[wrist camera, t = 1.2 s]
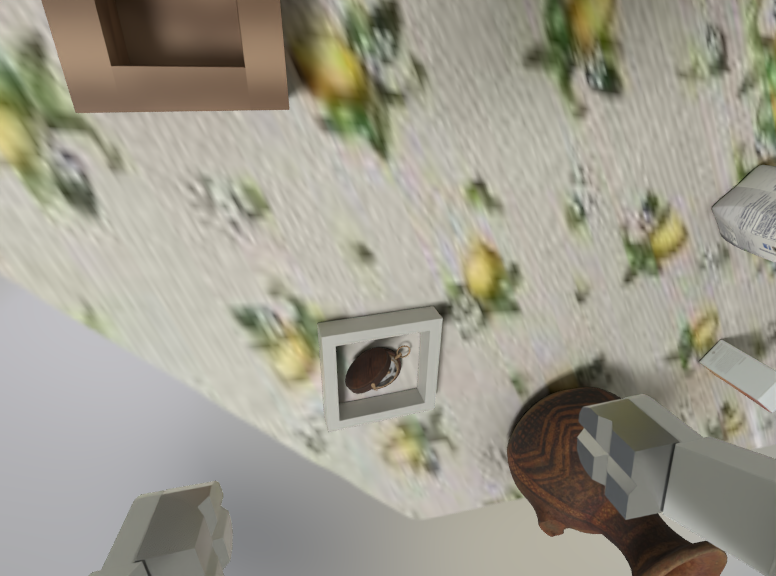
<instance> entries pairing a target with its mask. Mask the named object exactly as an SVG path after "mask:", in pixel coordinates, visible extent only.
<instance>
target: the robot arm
mask: <svg viewBox="0 0 776 576" xmlns="http://www.w3.org/2000/svg"><path fill="white" fill-rule="evenodd" d="M579 423H580V424H581V425H582V426H583V427H584V429H583V430H582V432H581V433H580V434H579V436H578V437H577V451H578V455H579V459H580V462H581V464H582V465H583V467H584V469H585V471H586V472H587V473H588V475H589V476H590V477H591V479H593V480H595V481H597V482H599V483H601V484H603V485H605V496H606V497H607V498H608V499H609V501H610V502H611V503H612V504H613V505H614V507H615V508H616V509H617V510H618V511H619V513H620V514H621V515H622V516H623V518H624V519H625V520H627V519H632V518H637V517H642V516H647V515H651V514H656V513H661V512H663V515H665V516H666V517H668V518H670V519H671V520H673V521H675V522H676V523H678V524H680V525H681V526H683V527H685V528H686V529H688V530H690V531H691V532H693V533H695V534H696V535H698V536H700V537H701V538H703V539H705V540H706V541H708V542H710V543H711V544H713V545H715V546H716V547H718V548H720V549H721V550H723V551H725V552H726V553H728V554H730V555H732V556H733V557H735V558H737V559H738V560H740V561H742V562H743V563H745V564H746V565H748V566H750V567H751V568H753V569H755V570H756V571H759V572H760V573H762V574H763V575H765V576H776V459H774V458H771V457H768V456H766V455H763V454H760V453H757V452H754V451H751V450H748V449H745V448H742V447H739V446H736V445H734V444H731V443H728V442H725V441H722V440H719V439H716V438H713V437H705V438H703V437H702V436H701V435H700V434H698V433H697V432H696V431H694V430H693V429H692V428H691V427H689V426H688V425H687V424H685V423H684V422H683V421H681V420H680V419H679V418H678V417H676V416H675V415H674V414H672V413H671V412H670V411H668V410H667V409H666V408H665V407H663V406H662V405H661V404H659V403H658V402H657V401H656V400H654V399H653V398H652V397H650V396H648V395H645V394H639V395H635V396H630V397H626V398H622V399H618V400H614V401H609V402H604V403H599V404H594V405H590V406H585V407H582V409H581V411H580V413H579ZM222 499H223V492H222V489H221V487H220V484H219V482H217V481H213V482H207V483H201V484H195V485H189V486H184V487H178V488H173V489H167V490H165V491H159V492H153V493H147V494H141V495H140V496H138V497H137V498H136V499H135V500H134V502H133V504H132V506H131V508H130V510H129V512H128V514H127V517H126V519H125V521H124V523H123V525H122V527H121V529H120V531H119V534H118V535H117V538H116V540H115V542H114V544H113V546H112V548H111V551H110V552H109V555H108V557H107V559H106V561H105V563H104V565H103V567H102V569H101V570H100V571H96V572H92V573H91V574H90V575H89V576H224V574H223V571H222V570H223V569H224V568H225V567H226V565H227V564H228V563H229V562H230V559H231V553H232V544H233V543H232V542H233V530H232V523H231V518H230V515H229V512H228V510H226V509H225V508H223V507H222V506H221V503H222Z"/></svg>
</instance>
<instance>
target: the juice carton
mask: <svg viewBox="0 0 776 576" xmlns="http://www.w3.org/2000/svg"><path fill="white" fill-rule="evenodd" d="M712 211H713V214H714V216H715V219H716V221H717V224H718V227H719V230H720V233H721V236H722V237H723V238H724V239H725V240H726V241H728V242H729V243H731V244H733V245H734V246H736V247H738V248H740V249H742V250H744V251H747V252H749V253H752V254H754V255H757V256H760V257H762V258H765V259H767V260H770V261H772V262H775V263H776V166H768V165H760V166H758V167H757V168H755V169H754V170H753V171H752V172H751V173H750V174H749V175H748V176H746V177H745V178H744V179H743V180H742V181H741V182H740V183H739V184H738V185H737V186H736V187H735V188H733V189H732V190H731V191H730V192H729V193H728V194H726V195H725V196H724V197H723V198H722V199H720V200H719V201H718V202H717V203H716V204H715V205H714V206H713V207H712Z"/></svg>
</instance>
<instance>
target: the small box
mask: <svg viewBox="0 0 776 576" xmlns="http://www.w3.org/2000/svg"><path fill="white" fill-rule="evenodd" d="M699 363H701V364H702V365H703V366H705V367H706V368H707V369H708V370H709V371H710V372H712V373H713V374H714V375H715V376H717V377H718V378H720V379H722V380H723V381H725V382H726V383H727V384H729V385H730V386H732V387H733V388H735V389H736V390H738V391H739V392H741V393H742V394H744V395H745V396H747V397H748V398H750V399H751V400H753V401H754V402H756V403H757V404H759V405H760V406H761V407H763V408H764V409H766V410H767V411H769V412H770V413H773V412H774V411H775V410H776V371H775V370H774V369H772V368H770V367H768V366H767V365H765V364H763V363H762V362H760V361H758V360H757V359H755V358H753V357H751V356H750V355H748V354H746V353H745V352H743V351H741V350H739V349H738V348H736V347H734V346H732V345H731V344H729V343H727V342H725V341H724V340H720V341H719V342H718V343H717V344H716V345H715V346H714V347H713V348H712V349H711V350H710V351H709V352H708V353H707V354H706V355H705V356H704V357H703V358H702V359H701V360H700V362H699Z"/></svg>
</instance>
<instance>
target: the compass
mask: <svg viewBox="0 0 776 576" xmlns="http://www.w3.org/2000/svg"><path fill="white" fill-rule="evenodd" d="M402 347H408V346H405V345H404V346H401V347H399V348H398V350H399V349H400V348H402ZM408 348H409V347H408ZM398 350H397V354H396V353H395V352H394V351H392V350H390V349H385V348H381V347H376V348H372V349H369V350H367V351H365V352H364V353H362V354H361V355H360V356H358V357H357V358H356V359H355V360H354V362H353V363H352V364H351V366H350V367H349V369H348V371H347V374H346V379H345V382H346V386H347V387H348V388H349V389H350V390H351V391H352V392H354V393H357V394H358V393H364V392H367V391H369V390H371V389H374V390H376V389H380V388H383V387H386V386H387V385H389V384H391V383H392V382H393V381H394V380H395V379H396V378H397V376H398V375H399V373H400V370H401V362H400V359H399V357H401V358H403V357H406V356H408V355H409V353H410V348H409V353H408V354H407V355H406V356H402V354H401V352H399V353H398Z"/></svg>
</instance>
